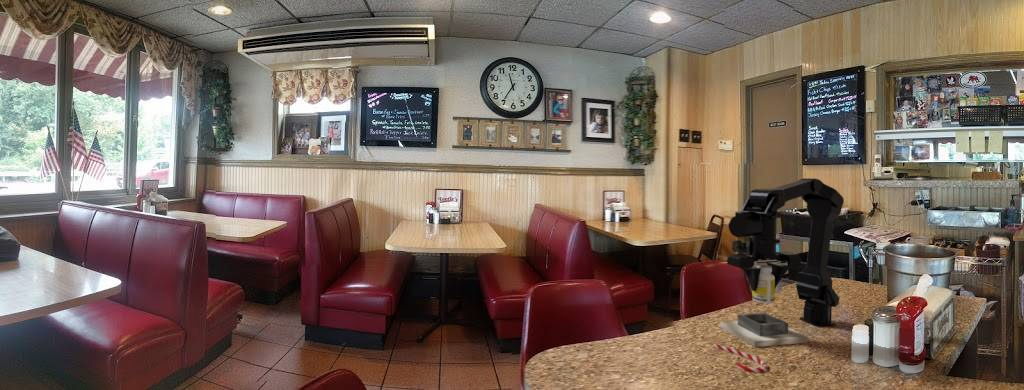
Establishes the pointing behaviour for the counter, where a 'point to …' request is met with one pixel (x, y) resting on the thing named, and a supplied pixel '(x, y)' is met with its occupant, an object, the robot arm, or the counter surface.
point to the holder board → (763, 330)
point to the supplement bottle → (765, 286)
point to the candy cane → (749, 369)
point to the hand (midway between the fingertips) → (763, 290)
